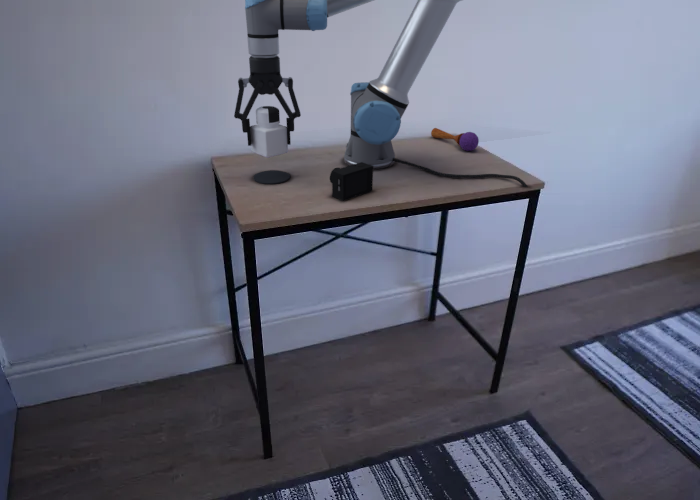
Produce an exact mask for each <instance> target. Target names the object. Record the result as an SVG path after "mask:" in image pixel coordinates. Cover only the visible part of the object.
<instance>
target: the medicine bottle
mask: <svg viewBox="0 0 700 500" xmlns="http://www.w3.org/2000/svg"><path fill="white" fill-rule="evenodd" d="M255 120H256V124H253V125H250V135H251V146H250V147H251V153H253V154H255V155H256V154H257V155H259V156H262V157H264V158H266V159H269V158H272V157H276V156H280V155H283V154H288V152H289V145H288V140H287V125H286V126H285V125H282V124H281V119H280V109H279V108H278V107H276V106H274V105H273V106H272V105H264V106H259V107H258V108H256V109H255Z"/></svg>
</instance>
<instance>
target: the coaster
mask: <svg viewBox="0 0 700 500" xmlns="http://www.w3.org/2000/svg"><path fill="white" fill-rule="evenodd" d="M290 179H291V174H289V172H286V171H283V170H277V169H276V170H273V169H271V170H265V171H264V170H263V171H260V172H257V173H255V174H254V175H253V181H254V182H256V183H259V184H262V185H279V184H284V183H286V182H289V180H290Z"/></svg>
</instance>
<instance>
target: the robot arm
mask: <svg viewBox="0 0 700 500" xmlns="http://www.w3.org/2000/svg"><path fill="white" fill-rule="evenodd" d="M373 1H375V0H244V3H245V5H244V10H245V22H246V34H247V49H248V50H247V51H248V54H249V55H250V56H249V57H248V63H249V77H245V78H243V77H239V78H238V81H237V84H238V94H237V99H236V104H235V109H234V116H233V118H235V119H238V120H240V121H241V127H242V128H241V129H242V132H243V134H244V133H245V134H246V136H247V146H248V147H249V146H250V147H251V135H250V126H251V122H250V118H248V116H249V115H250V112H251V110H252V108H253V106H254V104H255V102H256V100H257V98H258V96H259V95H261V96H264V95H271V96H272V95H274V96H275V98H277V100H278V103H280V106H281V107H282V109H283V110H284V112H285V113H286V115H287V117H286V121H285V122H286V127H287V140H288V146H289V145H290V146H291V132H295V119H297V118H300V117H301V115H302V114H301V111H300V107H299V104H298V100H297V97H296V93H295V90H294V80H293V77H291V76H288V77H283V76H282V74H281V59H280V57H279V55H280V37H279V30H280V31H281V30H282V31H285V30H288V31H311V32H315V31H324V30H326V29H327V27H328V18H330V17H333V16H335V15H338V14H342V13H344V12H346V11H350V10H352V9H354V8H357V7H360V6H363V5H365V4H368V3H372V2H373ZM462 1H463V0H416V3H415V5H414V7H413V9H412V11H411V13H410V14H409V17H408V19H407V21H406V23H405V25H404V27H403V29H402V30H401V32H400V34H399V36H398V38H397V40H396V42H395V44H394V45H393V48H392V50H391V52H390V54H389V56H388V57H387V60H386V62H385V63H384V66H383V67H382V69H381V71H380V73H379V75H378V77H377V78H375V79H372V80H369V81H368V82H353V84H351V87H350V88H351V89H350V93H349V94H350V134H349V135H350V136H349V138H348V142H347V143H346V146H345V151H344V155H343V157H344V158H343V161H344V163H345V165H347V166H350V165H354V164H357V163H360V162H363V163H366V164H369V165H371V166H373V170H383V169H386V168H390V167H392V166H393V165H394V164H395V163H399V164H402V165H406V166H408V167H409V166H410V167H413V168H417V169H420V170H423V171H425V172H428V173H431V174H433V175H435V176H440V177H445V178H453V179H454V178H457V179H480V178H500V179H510V180H515V181H516V182H518V183H519V184H521V185H522V187H523V188H528V185H527V183H526V182H525V181H524V180H523V179H522V178H520V177H518V176H516V175H509V174H498V173H479V174H452V173H445V172H440V171H436V170H433V169H431V168H429V167H426V166H423V165H420V164H417V163H413V162H409V161H406V160H402V159H398V158H396V154H395V150H394V146H393V142H392V140H394V138H395V137H396V136H397V135H398V133H399V131H400V130H401V129H400V128H401V125H402V117H403V116H404V114H405V112H406V110H407V108H408V106H409V104H410V100H409V95H408V94H409V92H410V90H411V88H412V86H413V85H414V83H415V81H416V79H417V77H418V75H419V74H420V72H421V70H422V68H423V66H424V64H425V62H426V61H427V59H428V57H429V55H430V53H431V52H432V49H433V48H434V46H435V44H436V42H437V40H438V38H439V37H440V35H441V33H442V31H443V30H444V27H445V26H446V24H447V22H448V20H449V18H450V16H451V14H452V13H453V12H454V9H455V7H456V5H457V4H458V3H459V2H462ZM282 83H283V84H284V86H285V87H286V88H287V90H288V94H289V97H290V100H291V103H292V107H293V109H294V111H292V110H291V108H290V106H289V105H288V103H287V101H286V100H285V98H284V96H283V95H282V93H281V91H280V89H279V88H280V86H281V85H282ZM248 84H249V85H250V86H251V87H252V88H253V91H252V93H251V95H250V98H249V99H248V102H247V104H246V105H245V107H244V110H243V112H242V113H241V108H242V103H243V98H244V92H245V88H247V86H248ZM519 279H520V278H517V277H515V280H514V286H513V292H515V293H517V291H518V285H519Z"/></svg>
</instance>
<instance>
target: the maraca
mask: <svg viewBox="0 0 700 500" xmlns="http://www.w3.org/2000/svg"><path fill="white" fill-rule="evenodd" d="M430 135H431V137H432V138H434V139H444V140H454V141H455V143H456V144H457V145H458V146H459V147H461V149H462V150H463V151H466V152H472V151H474V150H475V149H477V147H478V146H479V141H480V140H479V136H478V135H477V134H476V133H475V132H472V131H467V132H462V133H459V134H457V135H454V134H451V133H449V132H447V131H444V130H442V129H441V128H437V127H434V128H432V129H431V131H430Z"/></svg>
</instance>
